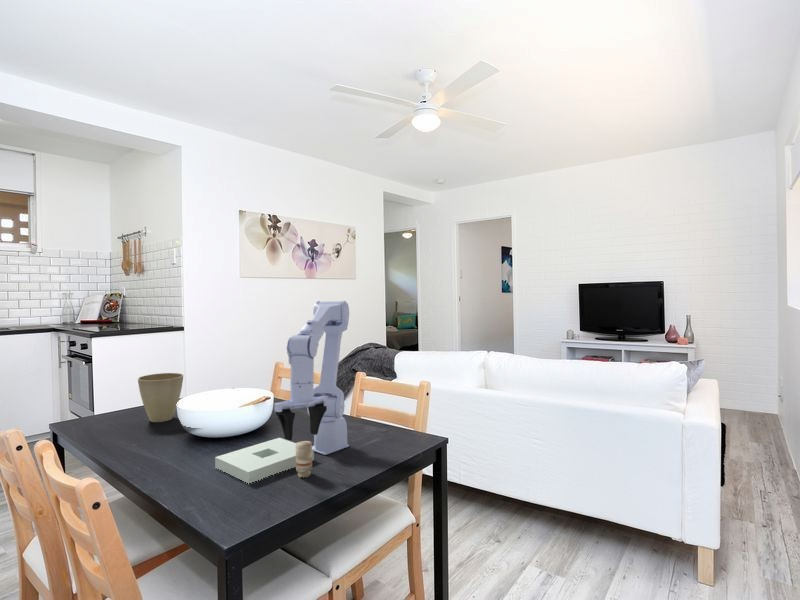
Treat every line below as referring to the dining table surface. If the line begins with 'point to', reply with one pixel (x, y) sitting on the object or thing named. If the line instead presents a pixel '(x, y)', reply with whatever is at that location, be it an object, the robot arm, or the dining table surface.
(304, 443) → the peg
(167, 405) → the plant pot
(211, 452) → the dining table surface
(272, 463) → the board
